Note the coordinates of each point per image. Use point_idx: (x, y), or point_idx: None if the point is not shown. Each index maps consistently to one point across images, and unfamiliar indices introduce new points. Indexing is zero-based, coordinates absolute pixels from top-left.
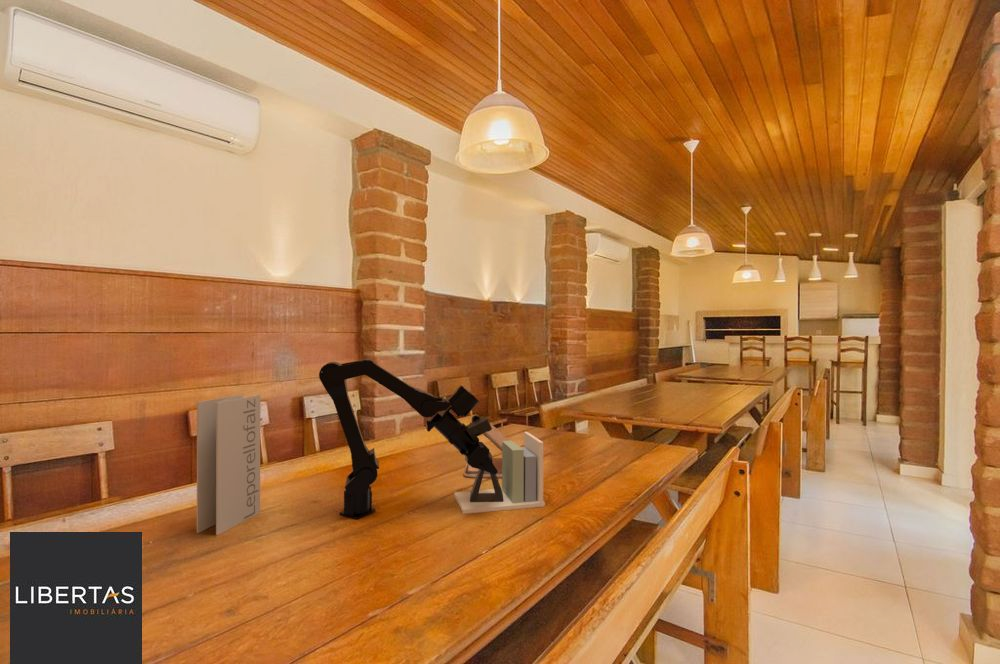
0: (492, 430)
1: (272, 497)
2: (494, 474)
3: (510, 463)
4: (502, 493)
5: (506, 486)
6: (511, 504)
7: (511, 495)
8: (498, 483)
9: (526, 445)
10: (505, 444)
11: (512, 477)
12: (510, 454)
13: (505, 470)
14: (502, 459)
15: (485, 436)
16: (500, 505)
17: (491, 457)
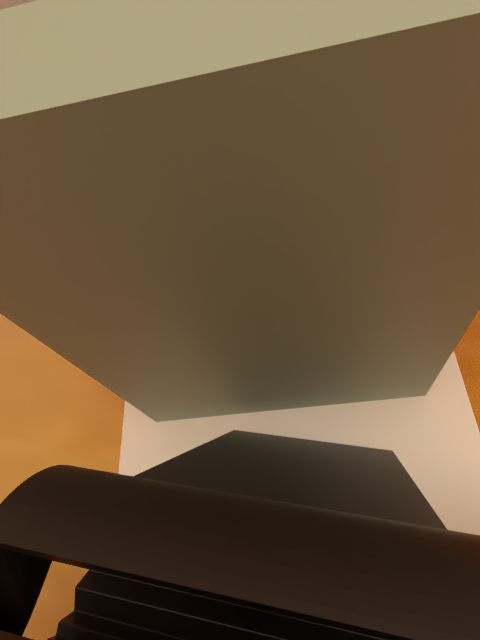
0: None
1: None
2: (407, 504)
3: (404, 246)
4: (264, 434)
5: (259, 391)
6: (447, 406)
7: (403, 383)
8: (291, 455)
9: (18, 2)
10: (31, 120)
11: (466, 312)
12: (428, 142)
13: (196, 348)
14: (39, 327)
15: None
16: (472, 490)
17: (331, 526)
